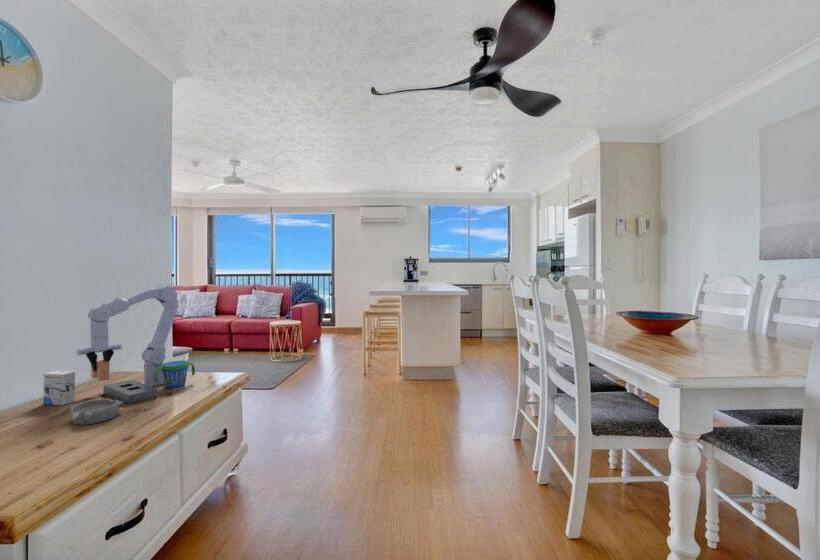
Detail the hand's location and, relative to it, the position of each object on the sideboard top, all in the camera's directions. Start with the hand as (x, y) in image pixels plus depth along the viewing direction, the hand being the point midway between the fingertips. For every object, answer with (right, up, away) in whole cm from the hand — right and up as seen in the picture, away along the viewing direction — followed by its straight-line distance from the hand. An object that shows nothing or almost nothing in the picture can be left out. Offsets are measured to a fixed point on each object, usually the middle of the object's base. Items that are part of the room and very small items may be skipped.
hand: (100, 369), depth 160 cm
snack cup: (+23, -10, +13) cm, 28 cm away
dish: (+18, -11, -25) cm, 33 cm away
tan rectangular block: (0, -4, 0) cm, 4 cm away
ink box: (-8, -11, -10) cm, 17 cm away
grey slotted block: (+13, -10, -1) cm, 16 cm away
